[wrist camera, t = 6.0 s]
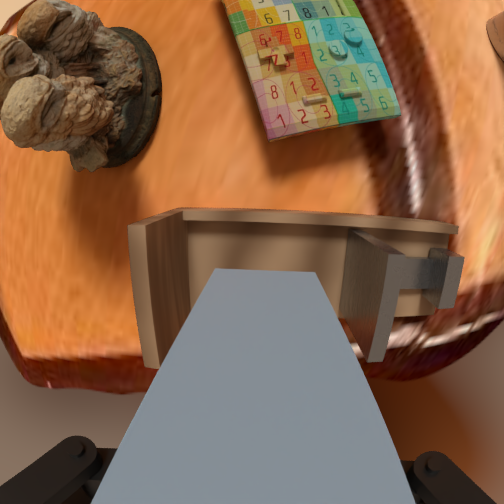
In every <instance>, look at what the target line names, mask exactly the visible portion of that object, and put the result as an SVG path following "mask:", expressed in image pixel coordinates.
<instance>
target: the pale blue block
mask: <svg viewBox="0 0 504 504" xmlns="http://www.w3.org/2000/svg"><path fill="white" fill-rule="evenodd" d="M91 504H416V503H415V500H414V498H413V495H412V492H411V489H410V486H409V484H408V481H407V478H406V475H405V473H404V470H403V467H402V465H401V462H400V460H399V457H398V454H397V452H396V449H395V447H394V444H393V442H392V439H391V437H390V435H389V432H388V429H387V427H386V425H385V422H384V420H383V418H382V415H381V413H380V410H379V408H378V405H377V403H376V401H375V398H374V396H373V394H372V392H371V390H370V387H369V385H368V382H367V380H366V378H365V376H364V373H363V371H362V369H361V367H360V365H359V362H358V360H357V358H356V356H355V354H354V351H353V349H352V347H351V345H350V343H349V341H348V339H347V336H346V334H345V332H344V330H343V328H342V326H341V324H340V322H339V320H338V318H337V316H336V313H335V311H334V309H333V307H332V305H331V303H330V301H329V299H328V297H327V295H326V293H325V291H324V289H323V287H322V285H321V283H320V281H319V279H318V277H317V275H316V273H315V272H297V271H268V270H243V269H219V268H215V269H214V271H213V273H212V275H211V276H210V278H209V280H208V282H207V284H206V285H205V287H204V289H203V291H202V292H201V294H200V296H199V298H198V300H197V301H196V303H195V305H194V307H193V308H192V310H191V312H190V314H189V316H188V317H187V319H186V321H185V323H184V325H183V326H182V328H181V330H180V332H179V334H178V336H177V337H176V339H175V341H174V343H173V345H172V347H171V348H170V350H169V352H168V354H167V356H166V358H165V359H164V361H163V363H162V365H161V367H160V369H159V371H158V372H157V374H156V376H155V378H154V380H153V382H152V384H151V386H150V387H149V389H148V391H147V393H146V395H145V397H144V399H143V401H142V403H141V405H140V407H139V408H138V410H137V412H136V414H135V416H134V418H133V420H132V422H131V424H130V426H129V428H128V430H127V432H126V434H125V436H124V438H123V439H122V441H121V444H120V445H119V447H118V449H117V451H116V453H115V455H114V457H113V459H112V461H111V463H110V465H109V467H108V469H107V471H106V473H105V475H104V478H103V480H102V482H101V484H100V486H99V488H98V490H97V492H96V494H95V496H94V498H93V500H92V502H91Z"/></svg>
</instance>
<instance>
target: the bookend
mask: <svg viewBox="0 0 504 504" xmlns="http://www.w3.org/2000/svg"><path fill="white" fill-rule="evenodd" d="M463 263H464V257H463V256H461V255H459V254H457V253H455V252H452V251H450V250H448V249H446V248H430V254H429V257H408V256H406V255H405V254H403V253H402V252H400V251H398V250H396V249H395V248H393V247H391V246H390V245H388V244H386V243H384V242H383V241H381V240H379V239H377V238H375V237H374V236H372V235H370V234H368V233H366V232H365V231H363V230H361V229H348V239H347V250H346V259H345V268H344V277H343V285H342V292H341V299H340V306H339V309H340V311H341V313H342V315H343V316H344V318H345V320H346V322H347V324H348V326H349V328H350V330H351V332H352V334H353V335H354V337H355V339H356V341H357V343H358V345H359V347H360V349H361V351H362V353H363V355H364V357H365V359H366V361H367V362H378V361H383V358H384V355H385V351H386V347H387V344H388V340H389V336H390V332H391V328H392V324H393V320H394V315H395V311H396V306H397V301H398V296H399V291H400V289H423V292H422V296H424V297H425V298H426V299H427V300H428V301H430V302H431V303H432V304H433V305H434V306H436V307H437V308H438V309H443V308H453V307H454V304H455V300H456V296H457V291H458V287H459V283H460V278H461V273H462V268H463Z"/></svg>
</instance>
